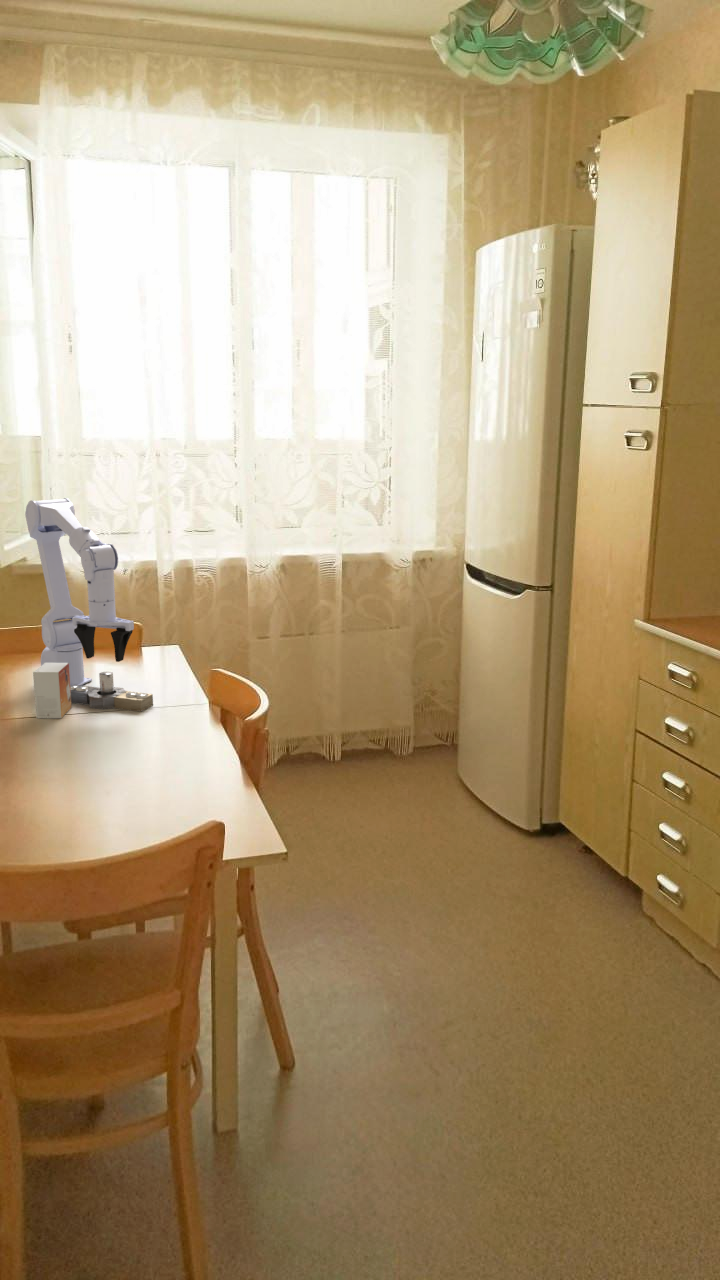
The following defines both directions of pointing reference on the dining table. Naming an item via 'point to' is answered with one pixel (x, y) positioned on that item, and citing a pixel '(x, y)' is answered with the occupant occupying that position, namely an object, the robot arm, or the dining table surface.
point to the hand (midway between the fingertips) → (104, 659)
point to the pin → (106, 683)
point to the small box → (52, 690)
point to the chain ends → (110, 698)
